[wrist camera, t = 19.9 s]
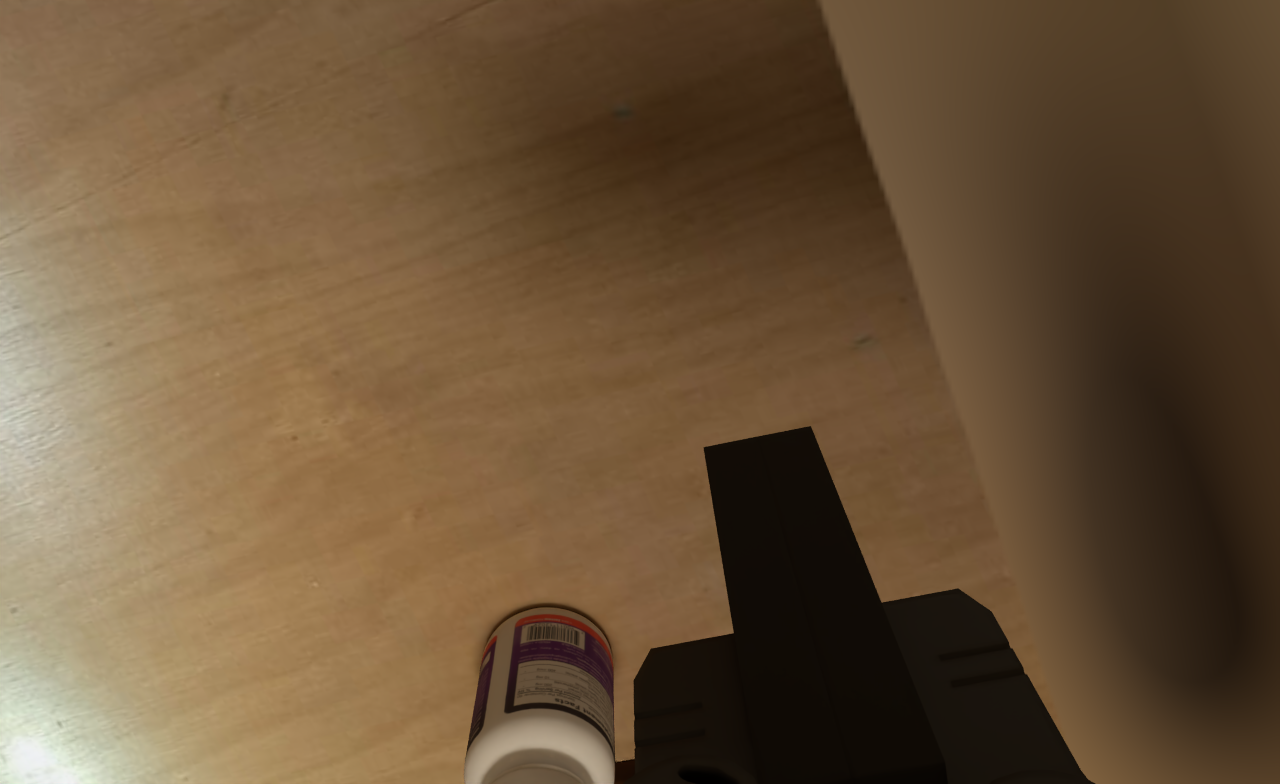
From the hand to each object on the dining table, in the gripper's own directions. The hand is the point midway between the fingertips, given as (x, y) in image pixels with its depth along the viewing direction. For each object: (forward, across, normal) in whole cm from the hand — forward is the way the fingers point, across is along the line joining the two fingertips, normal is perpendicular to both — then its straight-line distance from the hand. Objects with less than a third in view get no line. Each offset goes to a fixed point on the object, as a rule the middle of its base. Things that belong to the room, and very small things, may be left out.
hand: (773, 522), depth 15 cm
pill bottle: (+24, -9, -18) cm, 31 cm away
